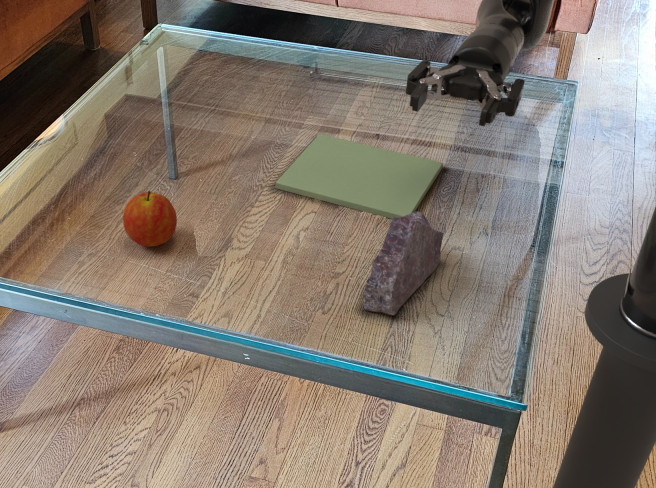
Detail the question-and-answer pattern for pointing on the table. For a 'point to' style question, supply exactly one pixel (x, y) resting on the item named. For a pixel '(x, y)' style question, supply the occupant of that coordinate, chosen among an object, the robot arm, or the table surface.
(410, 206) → the mat
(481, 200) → the table surface
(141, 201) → the fruit
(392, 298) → the stone
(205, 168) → the table surface
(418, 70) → the robot arm
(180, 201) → the table surface
